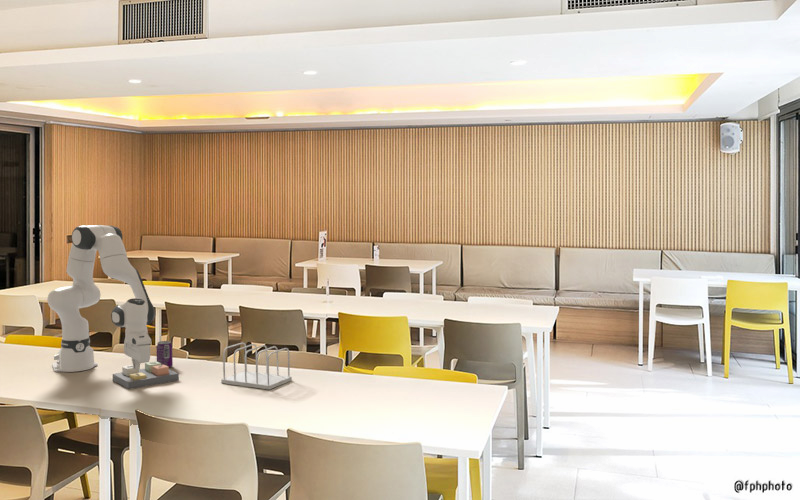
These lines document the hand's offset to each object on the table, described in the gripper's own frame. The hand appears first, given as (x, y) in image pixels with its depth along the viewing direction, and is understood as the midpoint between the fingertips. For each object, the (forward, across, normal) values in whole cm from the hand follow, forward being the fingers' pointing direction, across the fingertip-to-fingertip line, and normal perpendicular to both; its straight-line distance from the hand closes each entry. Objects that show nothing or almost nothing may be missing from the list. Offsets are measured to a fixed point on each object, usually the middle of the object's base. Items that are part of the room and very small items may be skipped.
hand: (136, 368), depth 290 cm
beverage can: (+7, -20, +21) cm, 30 cm away
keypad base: (+7, -3, +5) cm, 9 cm away
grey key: (+4, -7, 0) cm, 8 cm away
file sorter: (+6, +30, +41) cm, 51 cm away
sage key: (+4, -8, +10) cm, 13 cm away
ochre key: (+6, +1, 0) cm, 6 cm away
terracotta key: (+4, 0, +10) cm, 11 cm away
